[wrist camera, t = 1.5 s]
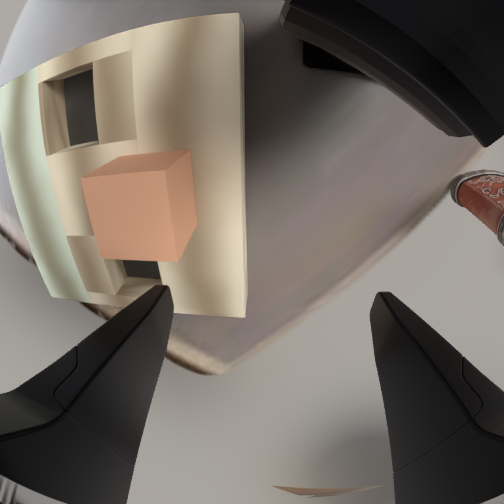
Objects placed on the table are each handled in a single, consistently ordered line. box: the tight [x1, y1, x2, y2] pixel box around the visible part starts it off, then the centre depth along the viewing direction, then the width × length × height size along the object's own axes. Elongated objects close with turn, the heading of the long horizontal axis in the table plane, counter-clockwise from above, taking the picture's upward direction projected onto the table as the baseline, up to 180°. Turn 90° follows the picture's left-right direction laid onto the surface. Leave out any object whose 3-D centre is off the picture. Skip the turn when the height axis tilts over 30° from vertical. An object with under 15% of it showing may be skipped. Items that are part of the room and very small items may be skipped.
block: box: [81, 150, 197, 262], centre depth 15 cm, size 5×5×4 cm
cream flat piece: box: [0, 13, 248, 317], centre depth 19 cm, size 21×22×3 cm
